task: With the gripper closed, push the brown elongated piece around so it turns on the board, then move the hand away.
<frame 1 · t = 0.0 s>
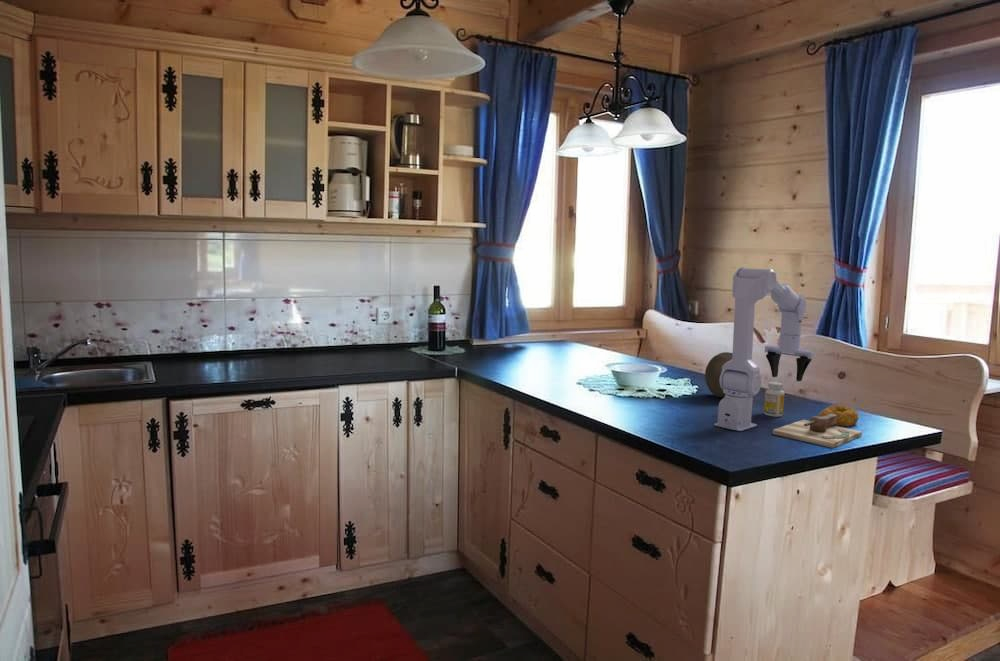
hand: (786, 378, 217), 10 cm above the countertop, tool pointing down, fingers open, 7 cm apart
board: (817, 435, 192), on the countertop
supplement bottle: (773, 415, 214), on the countertop
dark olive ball: (725, 398, 235), on the countertop
bagel: (836, 423, 207), on the countertop
brown elongated piece: (819, 423, 193), point 3 cm above the countertop, hinge at 0.0°
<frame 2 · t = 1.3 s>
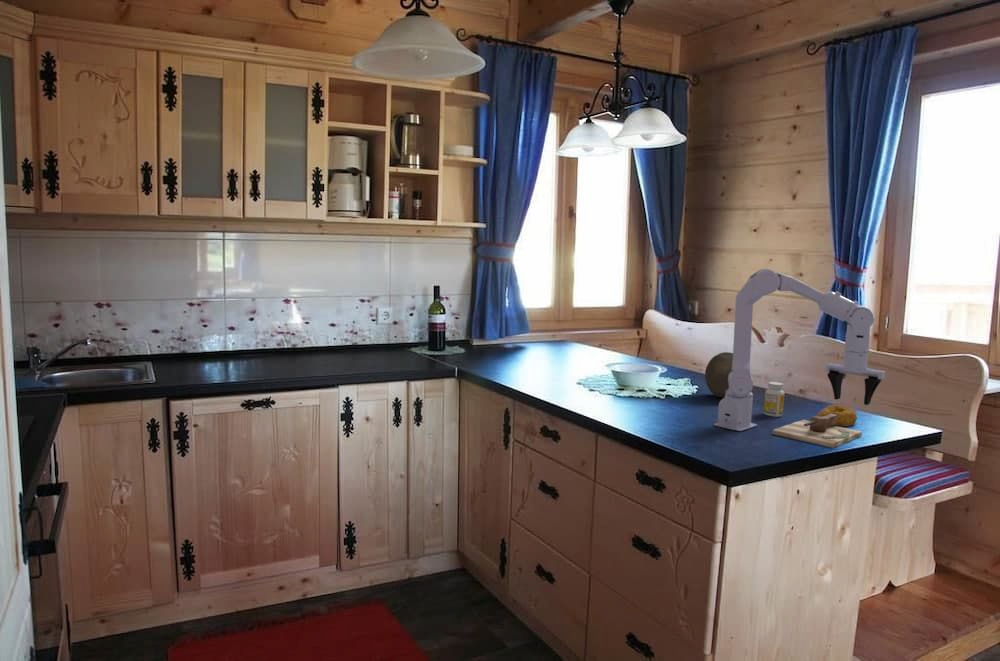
hand: (851, 401, 191), 9 cm above the countertop, tool pointing down, fingers open, 7 cm apart
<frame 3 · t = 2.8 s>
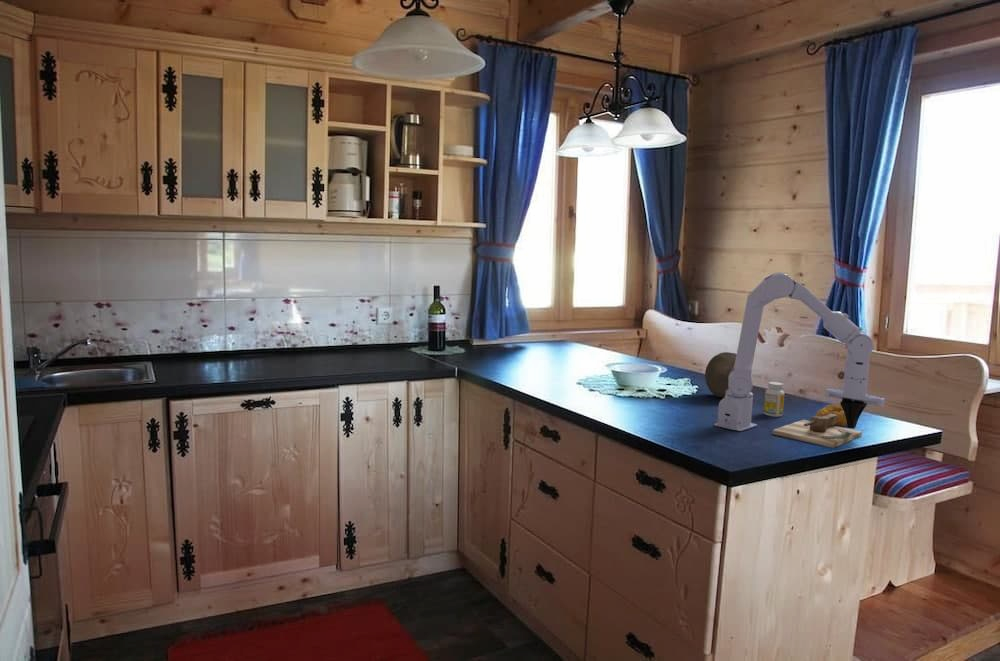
hand: (851, 427, 191), 3 cm above the countertop, tool pointing down, fingers closed
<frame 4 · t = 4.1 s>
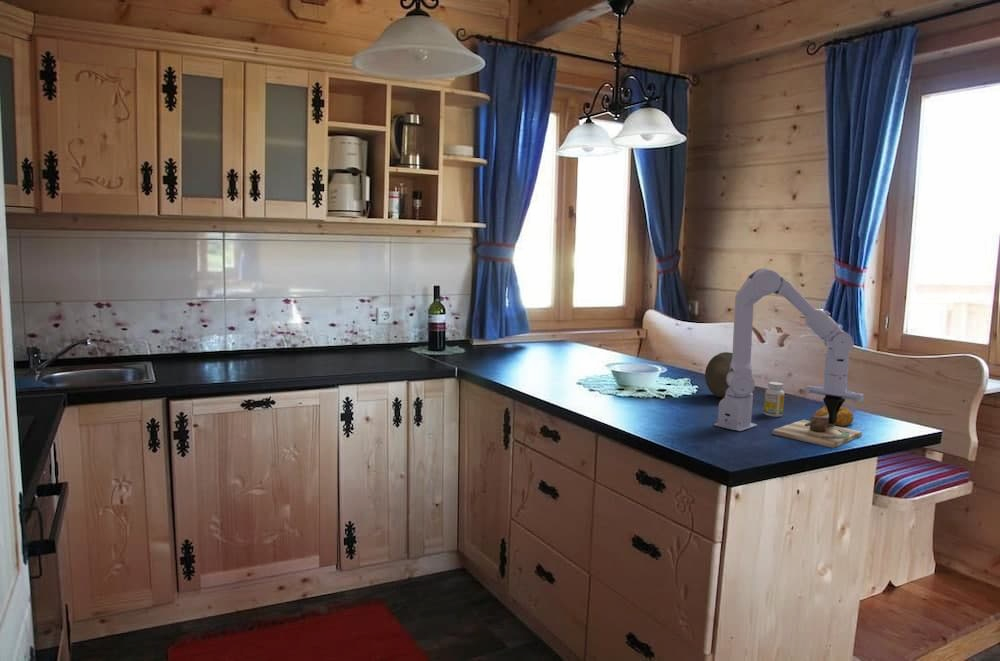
hand: (832, 423, 195), 3 cm above the countertop, tool pointing down, fingers closed, pressing on brown elongated piece
brown elongated piece: (819, 423, 193), point 3 cm above the countertop, hinge at 1.9°, touching gripper
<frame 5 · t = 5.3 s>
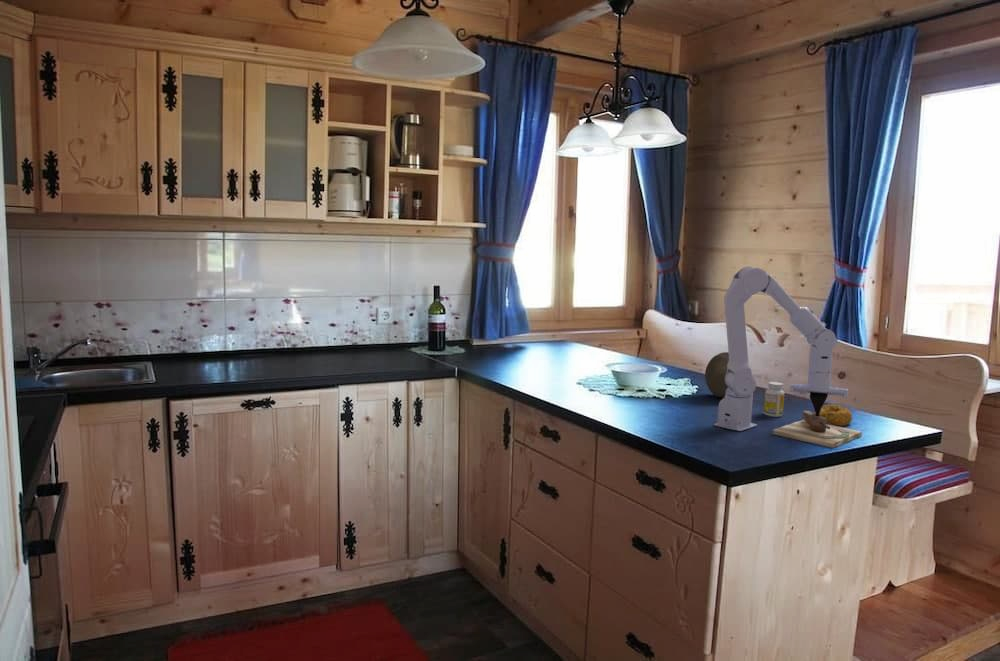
hand: (816, 419, 198), 3 cm above the countertop, tool pointing down, fingers closed, pressing on brown elongated piece
brown elongated piece: (816, 422, 193), point 3 cm above the countertop, hinge at 41.9°, touching gripper
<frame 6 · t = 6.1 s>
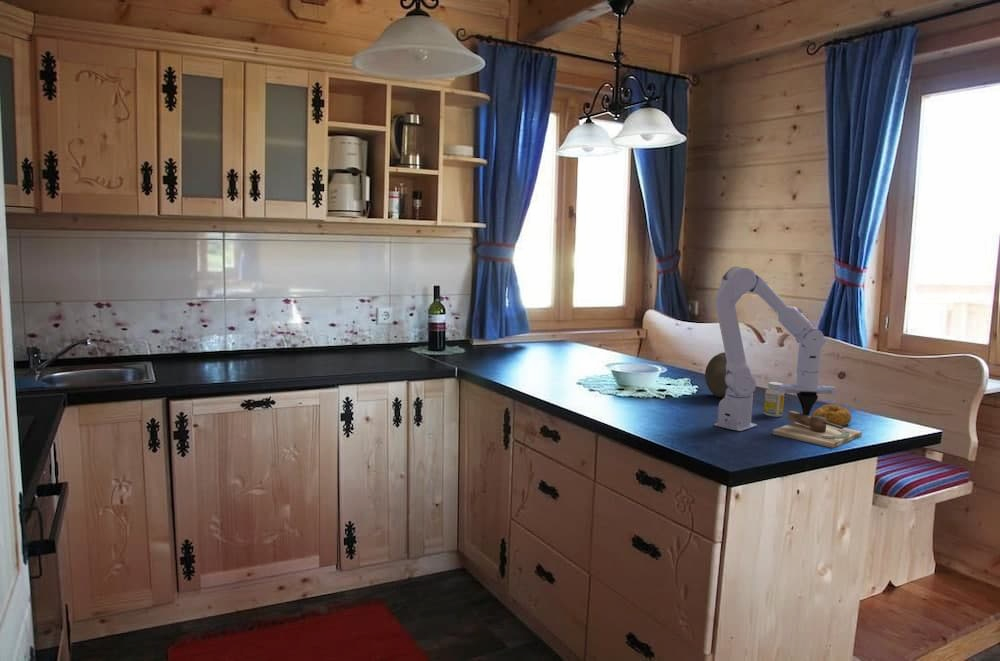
hand: (805, 418, 198), 3 cm above the countertop, tool pointing down, fingers closed, pressing on brown elongated piece
brown elongated piece: (815, 422, 193), point 3 cm above the countertop, hinge at 69.6°, touching gripper
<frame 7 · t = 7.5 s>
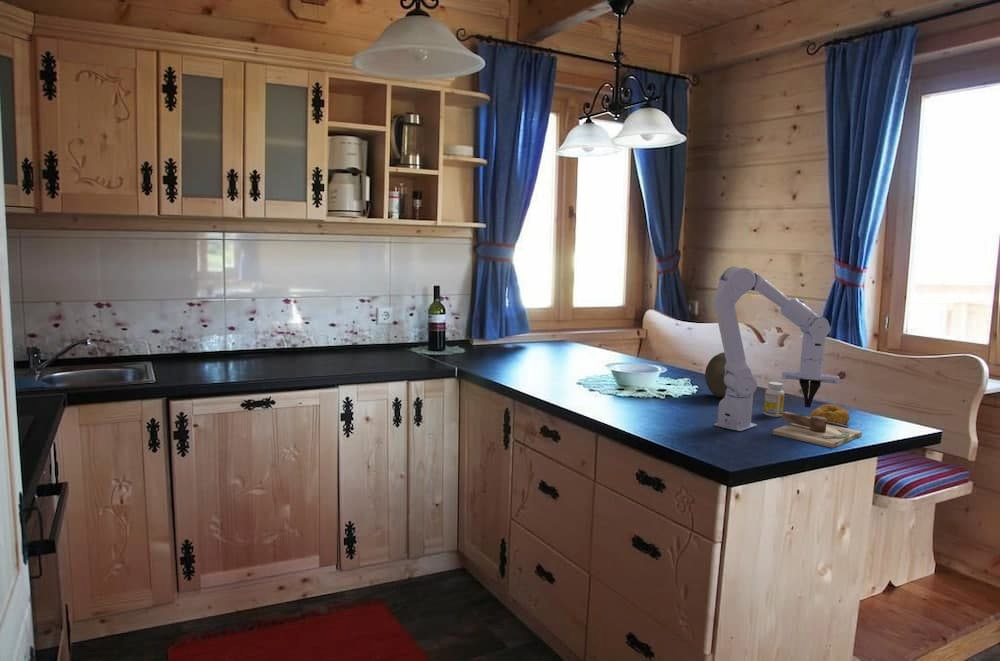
hand: (807, 406, 199), 6 cm above the countertop, tool pointing down, fingers closed
brown elongated piece: (814, 422, 193), point 3 cm above the countertop, hinge at 85.1°
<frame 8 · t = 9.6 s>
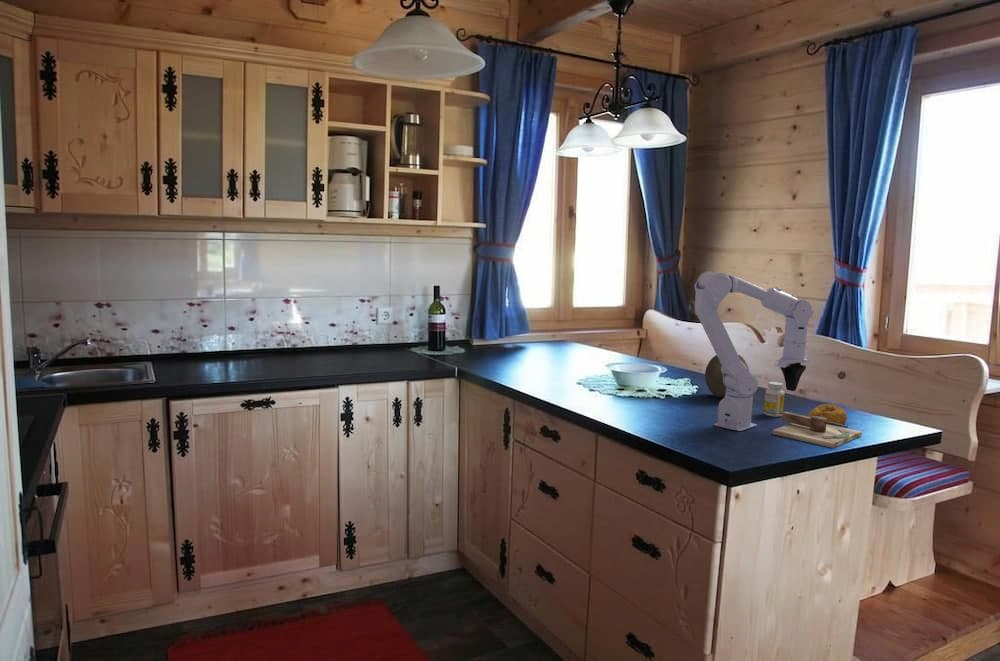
hand: (791, 390, 200), 10 cm above the countertop, tool pointing down, fingers closed
at the end: brown elongated piece at +85° (first picture: +0°) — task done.
